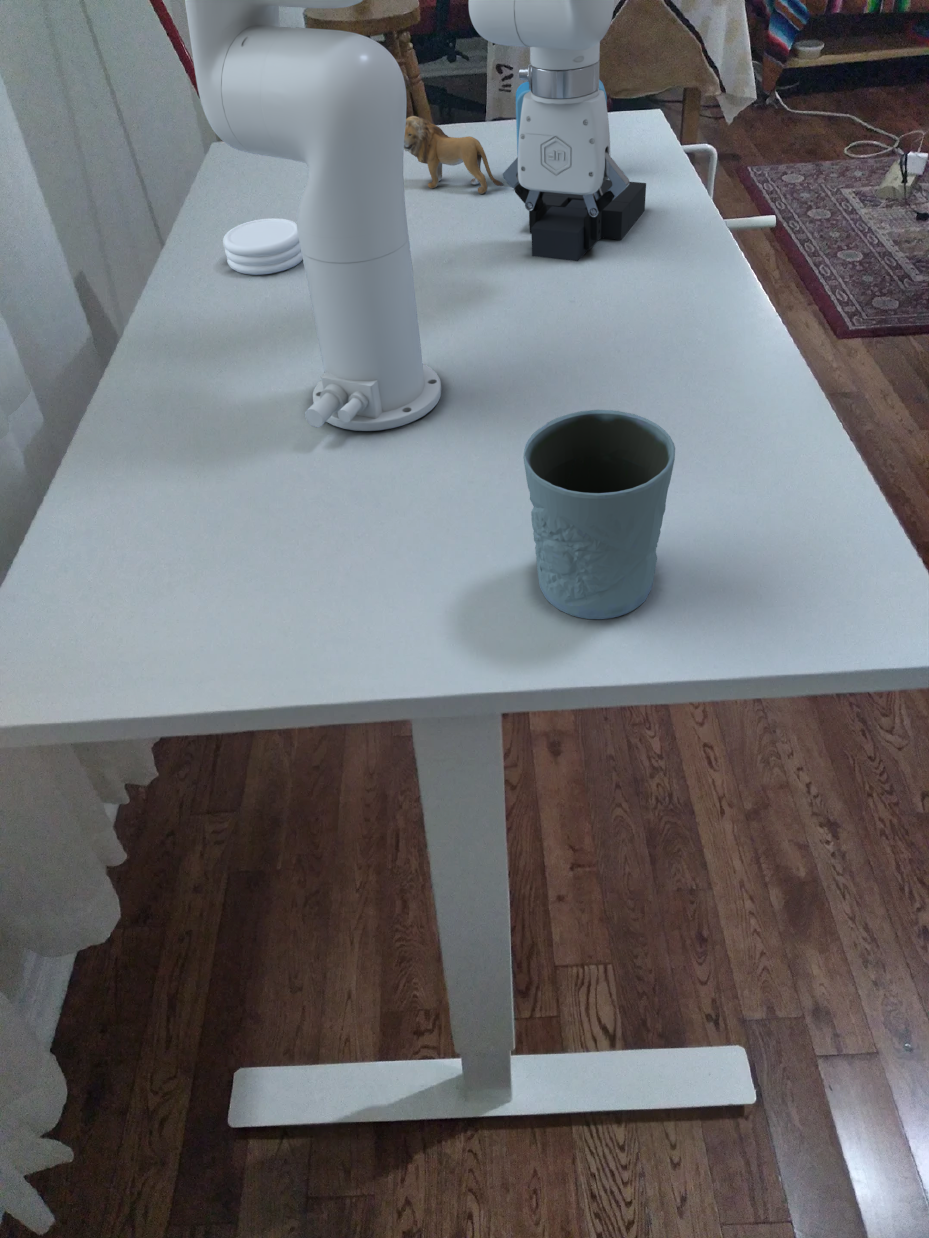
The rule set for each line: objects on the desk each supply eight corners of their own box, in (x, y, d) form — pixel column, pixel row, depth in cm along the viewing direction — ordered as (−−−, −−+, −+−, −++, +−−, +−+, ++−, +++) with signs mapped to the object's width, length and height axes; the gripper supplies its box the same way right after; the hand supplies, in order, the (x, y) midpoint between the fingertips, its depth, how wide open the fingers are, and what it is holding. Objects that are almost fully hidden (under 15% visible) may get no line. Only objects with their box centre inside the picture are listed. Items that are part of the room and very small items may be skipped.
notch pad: (621, 240, 119) (622, 211, 117) (530, 231, 123) (529, 203, 121) (644, 210, 126) (646, 183, 123) (558, 202, 130) (558, 175, 127)
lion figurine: (399, 190, 137) (392, 122, 131) (413, 177, 141) (407, 110, 135) (497, 196, 133) (494, 125, 127) (509, 182, 137) (507, 113, 131)
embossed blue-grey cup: (650, 537, 77) (660, 403, 68) (675, 624, 69) (690, 486, 61) (522, 547, 77) (517, 415, 69) (533, 634, 69) (529, 499, 61)
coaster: (215, 275, 120) (208, 247, 118) (247, 243, 127) (241, 215, 125) (290, 278, 118) (284, 249, 116) (318, 245, 125) (313, 217, 122)
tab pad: (578, 261, 116) (578, 232, 113) (531, 256, 118) (531, 227, 115) (604, 230, 122) (605, 202, 120) (559, 226, 124) (559, 198, 122)
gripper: (479, 86, 107) (488, 247, 119) (630, 94, 101) (623, 263, 113) (505, 67, 112) (511, 224, 124) (651, 73, 106) (642, 238, 118)
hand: (565, 241), depth 118 cm, fingers closed on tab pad, 5 cm apart
